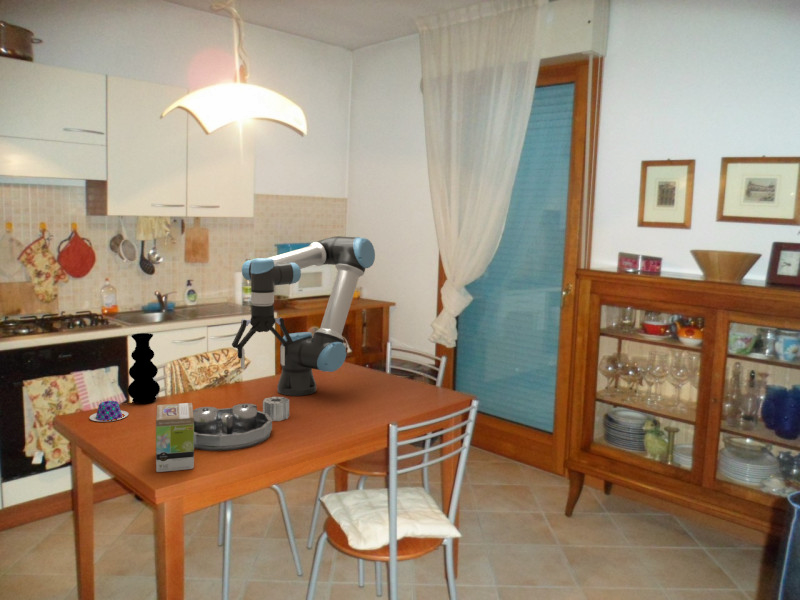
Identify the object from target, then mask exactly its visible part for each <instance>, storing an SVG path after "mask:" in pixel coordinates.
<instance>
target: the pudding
mask: <svg viewBox="0 0 800 600" xmlns="http://www.w3.org/2000/svg"><path fill="white" fill-rule="evenodd" d="M122 414H124V415H125V416H124V417H123V415H122ZM128 416H129V412H128V411H125V410H122V409H121V406H120V403H119V402H118V401H116V400H105V401H101V402H100V403H99V405H98V407H97V411H96V412H95V413H93V414H91V415H90V416H89V419H90V420H91V421H95V422H101V423H102V422H108V421H107V420H109V421H111V420H112V421H111V422H115V420H114V419H117V420H116V421H118V420H121V419H124V418H126V417H128ZM121 417H122V418H121ZM103 420H104V421H103Z"/></svg>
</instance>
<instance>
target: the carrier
mask: <svg viewBox="0 0 800 600" xmlns="http://www.w3.org/2000/svg"><path fill="white" fill-rule="evenodd" d="M193 415H194V449H197V450H201V451H211V452H215V451H216V452H218V451H219V452H220V451H221V452H223V451H224V452H225V451H234V450H243V449H248V448H250V447H253V446H257V445H259V444H262V443H263V442H265V441H267V440H268V439H269V438H270V437H271V431H272V430H273V421H272V420H271V418H270V416H269V415H268V414H267V413H264V412H263V411H260V410H258V405H256V404H254V403H239V404H235V405H233V406H232V407H226V408H218V407H215V406H201V407H196V408H195V409H194V408H193Z"/></svg>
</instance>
